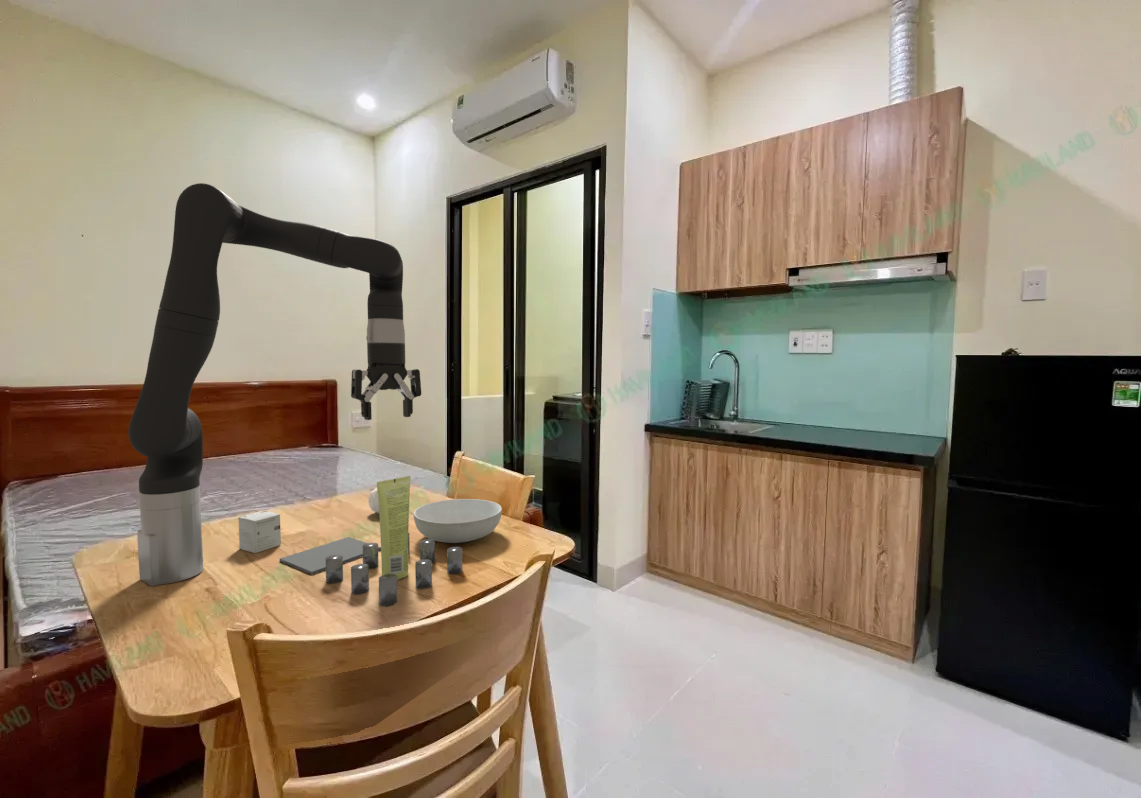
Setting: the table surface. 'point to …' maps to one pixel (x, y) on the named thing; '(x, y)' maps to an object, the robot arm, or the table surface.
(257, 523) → the skincare box
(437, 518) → the serving bowl
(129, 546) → the table surface
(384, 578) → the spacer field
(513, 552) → the table surface
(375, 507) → the ball
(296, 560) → the slate mat
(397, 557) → the tube
